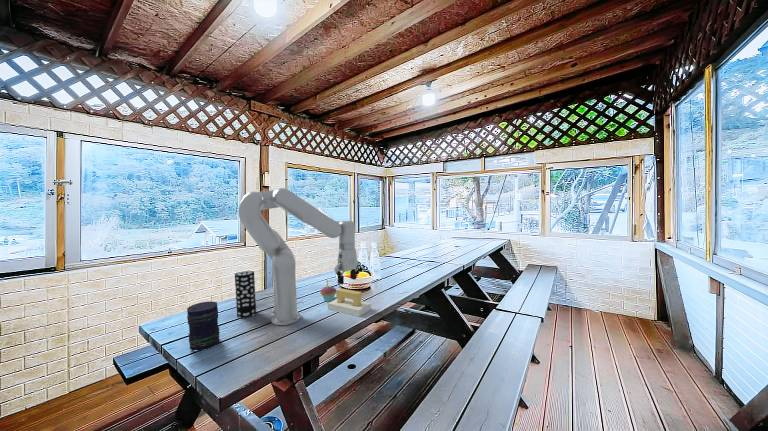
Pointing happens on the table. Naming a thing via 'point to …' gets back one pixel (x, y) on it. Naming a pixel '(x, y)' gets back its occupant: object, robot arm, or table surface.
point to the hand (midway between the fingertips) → (347, 281)
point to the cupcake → (328, 292)
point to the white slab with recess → (349, 307)
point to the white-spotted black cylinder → (245, 294)
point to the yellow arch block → (349, 296)
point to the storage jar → (203, 325)
